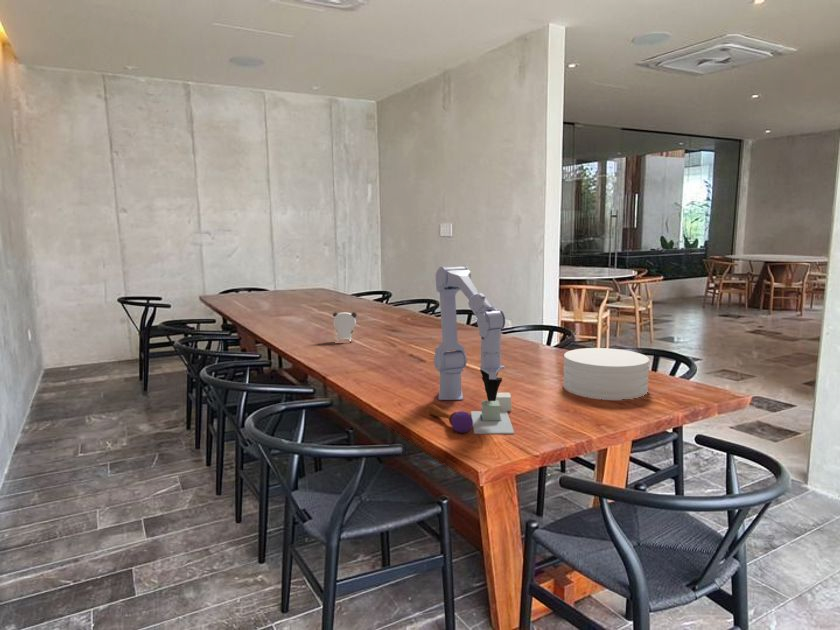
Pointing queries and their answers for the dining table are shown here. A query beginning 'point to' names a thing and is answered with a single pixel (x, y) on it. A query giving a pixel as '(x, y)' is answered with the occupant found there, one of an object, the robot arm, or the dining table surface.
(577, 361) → the plate stack
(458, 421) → the kendama
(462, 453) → the dining table surface
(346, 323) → the panda figurine
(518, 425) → the dining table surface
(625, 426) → the dining table surface
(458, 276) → the robot arm
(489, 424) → the grey base plate
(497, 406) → the block base
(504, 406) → the block top
